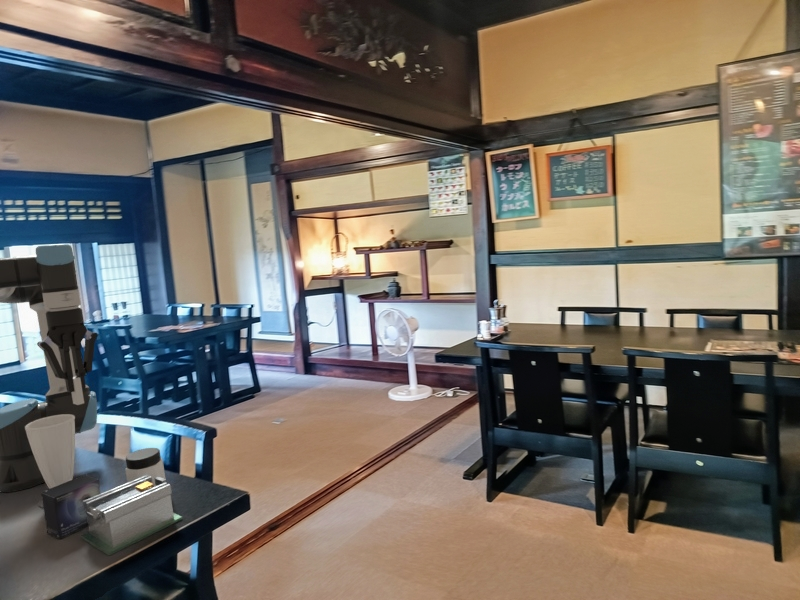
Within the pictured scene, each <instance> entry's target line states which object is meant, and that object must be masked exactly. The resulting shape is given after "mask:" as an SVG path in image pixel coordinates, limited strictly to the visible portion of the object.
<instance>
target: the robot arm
mask: <svg viewBox="0 0 800 600" xmlns="http://www.w3.org/2000/svg"><path fill="white" fill-rule="evenodd" d="M75 259H76V258H75V255H74V252H73V247H72V245H70V244H67V243H58V244H55V243H54V244H44V245H43V244H42V245H38V246H36V248H35V255H21V256H13V257H0V303H1V304H2V303H3V304H22V303H28V304H29V308H30V310H32V311H34V312H35V313H36V315H37V321H38V326H39V334H40V338H41V341H38V342H37V344H36V345H37V346H38V347H39V349H41V350H42V351H43V355H44V356H43V357H44V361H45V367H46V373H47V378H48V384H49V389H48V391H47V392H46V393H45V401H42V402H39V400H38V399H36V398H28V399H22V400H19V401H15V402H13V403H10V404H7V405H4V406H3V407H0V491H1V492H0V493H10V492H9V491H12V492H18V491H23V490H26V489H30V488H33V487H35V486H38V485H41V484H44V483H46V482H45V480H44V478H43V476H42V474H41V472H40V470H39V467H38V465H37V462H36V460H35V457H34V455H33V452H32V449H31V446H30V443H29V440H28V437H27V433H26V430H25V426H26V425H27V424H29V423H31V422H33V421H35V420H38V419H42V418H45V417H50V416H54V415H62V414H71V415H74V416H75V419H74V421H75V435H76V434H81V433H83V432H87V431H90V430H91V431H92V430H93V429H95V427H96V425H97V420H98V400H97V394H96V392H95V391H93V390H91V391H90V386H88V385H87V384H86V380H85V377H86V375H87V374H88V373H91V372H92V371H93V361H94V352H95V343H96V339H97V338H98V337H99V334H98V333H97V332H94V331H90V330H88V328H87V326H86V325H85V322H84V321H85V320H84V315H83V314H84V313H83V309H82V307H79V306H81V304H82V302H81V296H80V295H81V294H80V289H79V285H78V284H79V283H78V278H77V270H76V263H75ZM83 339H85V341H84V352H83V357H82V344H81V343H82V341H83Z"/></svg>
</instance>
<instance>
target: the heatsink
mask: <svg viewBox="0 0 800 600" xmlns="http://www.w3.org/2000/svg"><path fill="white" fill-rule="evenodd" d="M146 481H148V482H150V483H152V477H151V476H148V475H145V476H143V477H141V478H138V479H136V480H133V481H131V482H128V483H127V482H126V483H124V484H121V485H119V486H116V487H114V488H111V489H109V490H107V491H104V492H102V493H101V492H100V494H99V495H96V496H94V497H91V498H89V499H87V500H84V501H83V507H84V511H86V509H87V508H88V507H90V506H92V507H94V508H96V507H98V506H100V505H102V504H104V503H106V502H109V501H111V500H113V499H115V498H117V497H119V496H122V495H124V494H126V493H128V492H130V491H132V490H134V489H136V486H138V485H140V484H142V483H144V482H146ZM152 484H153V483H152ZM155 485H156V487H153V488H151V489H149V490H146V491H144V492H142V493H139V494H137V495H135V496H132V497H130V498H128V499H126V500H123V501H121V502H119V503H116V504H114V505H112V506H109V507H107V508H105V509H102V510H100V515H101V519H99V520H96V519H94V518H91V517H89V516H87V520H88V526H87V527H88V531H87V532H85V533H83V534H81V535H80V538H81V540H83V541H85V542H87V543H88V544H89V545H91V546H93V547H95V548H96V549H98V550H99V551H101V552H102V553H104V554H105V555H108V556H112V555H114V554H116V553H117V552H120V551H121V550H123V549H126V548H128V547H129V546H131V545H134V544H136V543H137V542H139V541H142V540H143V539H146V538H148V537H150V536H151V535H154V534H156V533H157V532H159V531H162V530H163V529H166V528H167V527H169V526H171V525H174V524H176V523H178V522H180V521H182V520H183V516H181V515H179V514H177V513H175V512H174V510H173V502H172V496H171V495H172V493H173V492H172V486H171V484H170V483H167V479H166V478H165V479H164V478H161V477H159V476H158V477H156V478H155Z"/></svg>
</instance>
